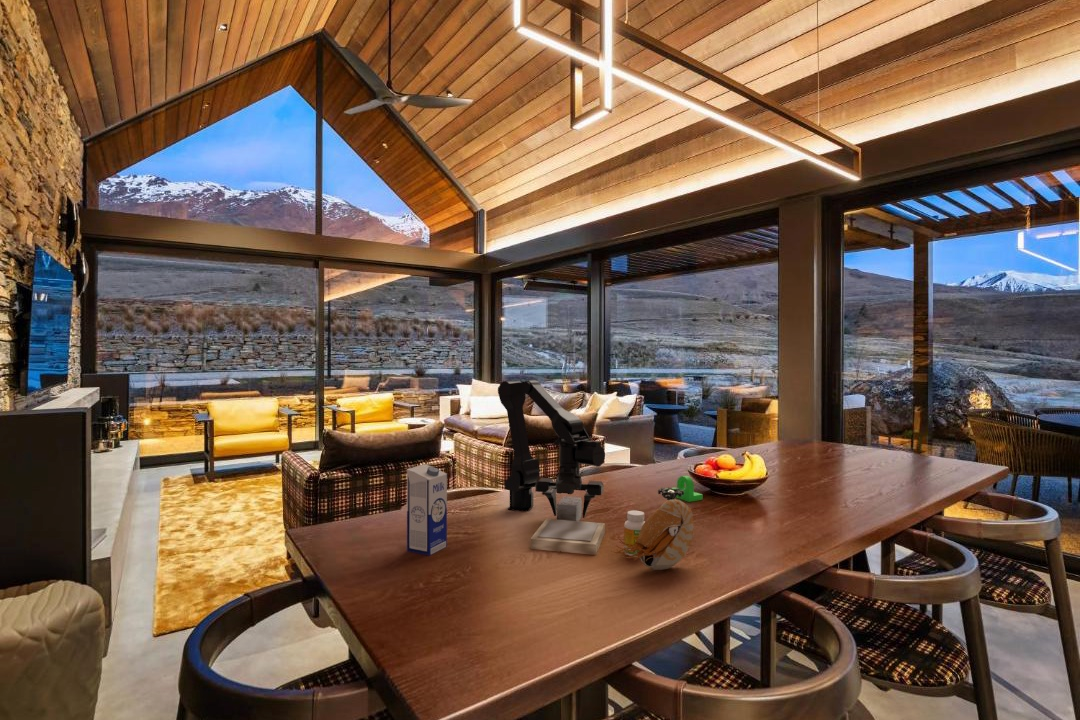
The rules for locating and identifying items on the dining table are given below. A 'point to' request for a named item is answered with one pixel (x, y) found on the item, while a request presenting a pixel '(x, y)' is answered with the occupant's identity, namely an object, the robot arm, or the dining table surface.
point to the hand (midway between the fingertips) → (569, 516)
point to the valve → (671, 493)
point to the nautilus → (664, 536)
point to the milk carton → (426, 510)
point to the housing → (569, 508)
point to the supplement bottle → (633, 529)
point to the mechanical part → (687, 489)
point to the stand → (568, 536)
